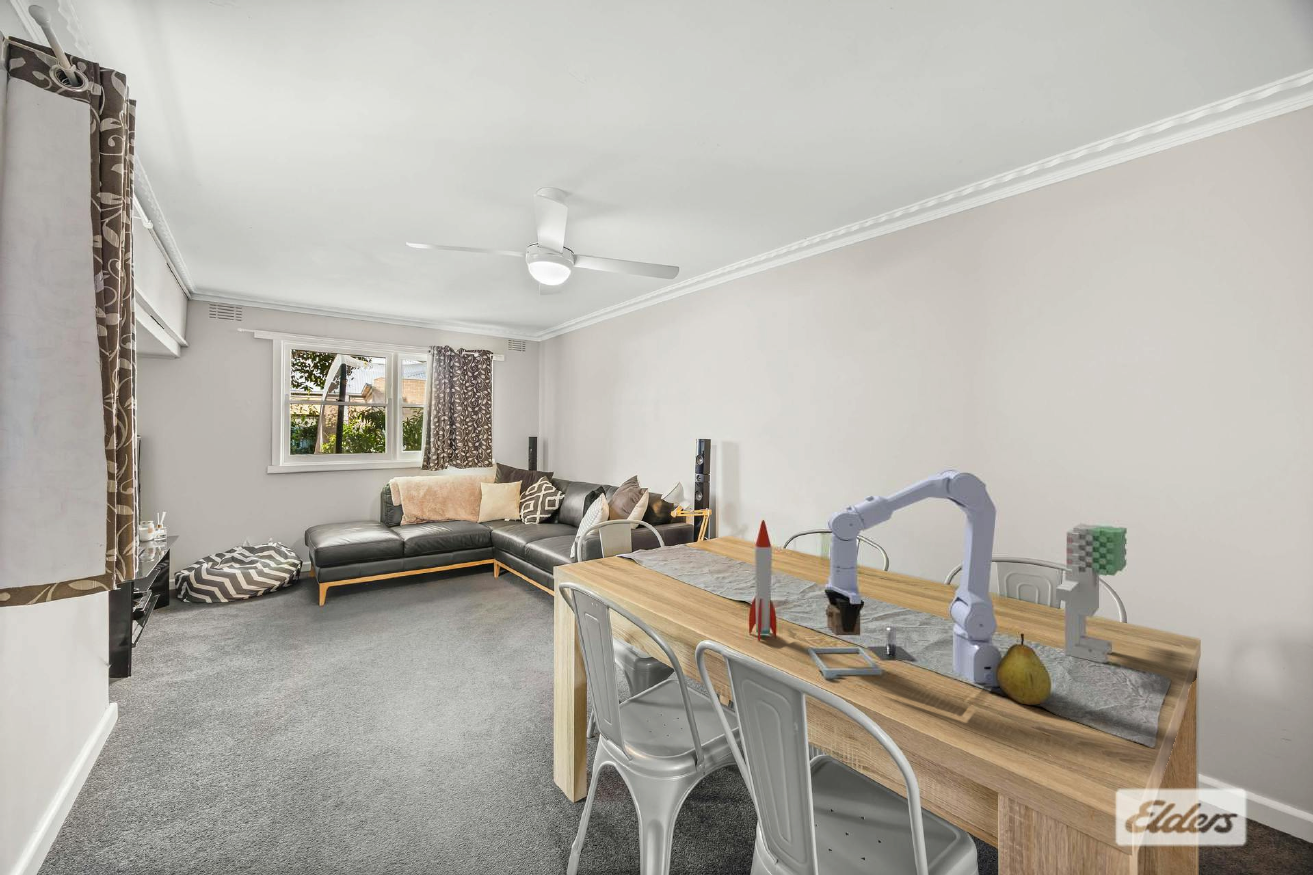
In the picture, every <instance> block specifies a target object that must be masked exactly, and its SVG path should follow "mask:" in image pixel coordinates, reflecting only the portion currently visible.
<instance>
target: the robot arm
mask: <svg viewBox="0 0 1313 875" xmlns="http://www.w3.org/2000/svg"><path fill="white" fill-rule="evenodd" d="M928 498H934V499H944V500H949V501H951V502H953V503H954V504H956V506H958V508H959V509H960V510H961V511H962V512H964V513H965V515H966V524H965V533H964V534H965V535H964V544H963V555H962V565H961V575H960V586H959V587H958V588H957V589H956V590H955V594H954V598H953V601H951V603H950V605H949V607H948V614H949V616H950V618H951V620H952V621H953V622H954V626H953V628H952V669H953V671H954V672H955V673H957V674H958V675H962V676H963V677H965V678H966V679H968V680H969V682H971V683H974V684H985V685H984V687H1000V686H999V683H998V681H997V676H996V671H997V667H998V665H999V663H1000V661H1001V659H1002V658H1003V656H1002V653H1001V651H1000V650H999V648H998V647H996V646H995V644H994V642H993V638H992V636H994V634H995V633H996V631H997V628H998V622H997V620H996V617H995V615H994V604H993V601H992V599H991V596H990V592H989V591H990V590H989V589H990V580H991V569H992V568H991V567H992V559H993V549H994V548H993V547H994V538H995V528H996V527H995V525H996V517H997V516H996V515H997V509H996V506H995V505H994V502H993V501H992V499H991V497H990V494H989V493H988V491H987V485H986V483H984V481H982V480H981V479H980V478H979V477H978V476H976V475H975V474H973V473H971V472H965V471H963V472H962V471H957V470H954V469H946V470H943V471H941V472H940V473H935V474H931V475H930V476H927V477H925V478H923V479H921V480H919V481H917V482H915V483H913V484H911V485H909V486H907V487H905V488H902V489H901V490H898V491H897V492H895V493H893V494H890V495H889V496H887V497H883V496H880V495H875V496H873V495H867V496H866V497H865V499H866V500H863V501H862V502H859V503H857V504H855V505H853V506H851V505H847V506H845V509H846V510H837V511H835V512H833V514H831V516H830V517H829V520H828V522H827V525H828V528H829V530H830V532H831V533H830V541H831V542H830V545H829V546H830V547H829V549H830V550H829V551H830V553H829V554H830V556H829V563H830V564H829V566H830V567H829V568H830V569H829V570H830V571H829V572H830V573H829V574H830V575H829V576H828V578H827V579H828V583H827V584H824V588H825V589H824V593H825V595H826V597H827V599H828V603H829V605H838V607H839V609H840V613H841V620H842V627H843V631H844V632H854V629H855V625H856V621H857V618H858V615H859V613H860V614H861V611H862V609H863V607H864V606H865V602H864V601H863V600H862V599H861V598H862V595H861V593H860V592H859V590H860V589H859V586H858V543H857V542H858V540H857V538H858V536H859V535H860V533H861V531H862V532H863V531H866V530H868V529H870V528H874V527H875V526H878V525H880V524H882V523H885V522H887V521H889V520H890V519H891V518H892V515H893V513H894V512H895V511H897V510H900V509H903V508H905V507H908V506H910V505H913V504H915V503H919V502H921V501H922V500H925V499H928Z"/></svg>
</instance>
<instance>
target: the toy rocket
mask: <svg viewBox="0 0 1313 875" xmlns="http://www.w3.org/2000/svg"><path fill="white" fill-rule="evenodd" d="M758 531H759V532H758V534H757V539H756V542H755V544H754V545H755V546H754V580H755V581H754V584H755V586H754V587H755V588H754V590H755V591H754V592H755V596H754V598H753V600H752V602H751V605H750V608H749V613H748V633H749V635H750V634H751V633H752V632H753V629H754V627H755V632H756V633H757V641H758V642H760V641H761V635H768V634H770V633H771V632H772V634H773V637H774V639H777V629H778V626H777V614H776V610H775V606H774V604H773V601H772V600H771V599H772V566H773V565H772V561H773V559H772V557H773V554H772V553H773V549H772V545H771V540H770V538H769V533H768V529H767V525H766V522H765V520H764V519H762V520H761V523H760V527H759V530H758Z"/></svg>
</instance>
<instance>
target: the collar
mask: <svg viewBox="0 0 1313 875" xmlns="http://www.w3.org/2000/svg"><path fill="white" fill-rule="evenodd" d="M826 606H827V609H825V615H826V616H827V623H826V624H827V628H828V629H829V630H830V631H831V632H832V633H833V635H835V636H861V612H860V613H859V615H858V618H857V621H856V625H855V629H854V632H844V631H843V627H842V620H841V613H840V609H839V607H838V605H830V604H827V605H826Z"/></svg>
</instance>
